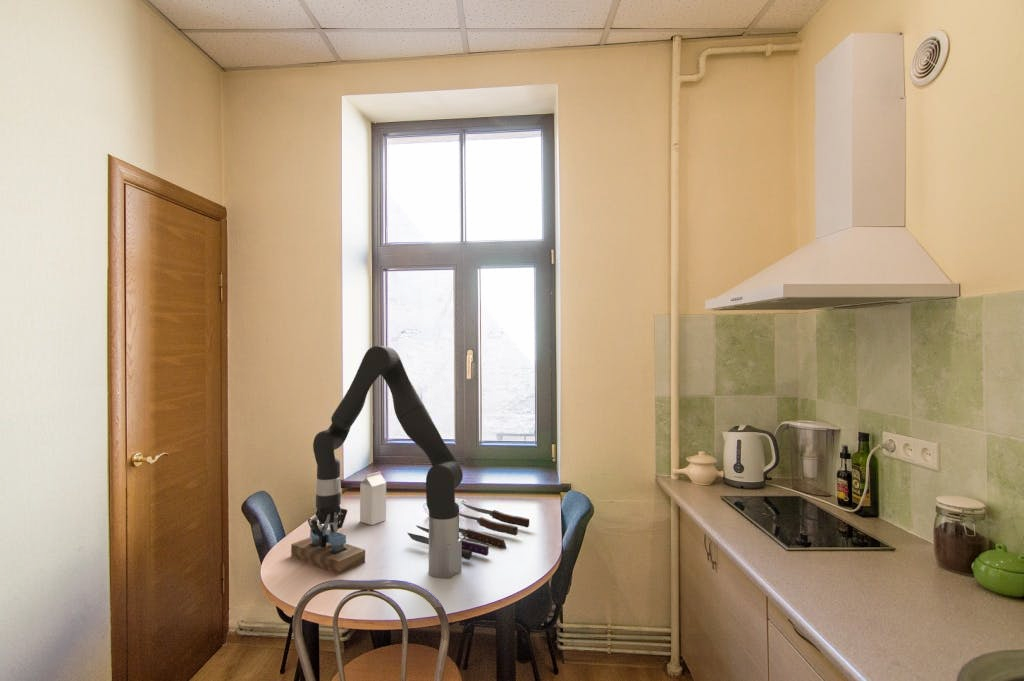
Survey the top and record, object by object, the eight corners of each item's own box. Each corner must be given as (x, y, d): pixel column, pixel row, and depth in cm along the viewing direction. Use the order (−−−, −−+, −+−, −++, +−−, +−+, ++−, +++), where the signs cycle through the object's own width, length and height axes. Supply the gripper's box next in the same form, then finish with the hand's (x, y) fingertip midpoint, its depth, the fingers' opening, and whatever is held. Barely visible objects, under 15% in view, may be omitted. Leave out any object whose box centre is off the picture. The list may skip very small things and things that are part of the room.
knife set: (460, 512, 198) (461, 494, 197) (531, 532, 181) (531, 512, 180) (399, 544, 168) (400, 522, 167) (477, 571, 151) (477, 546, 150)
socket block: (365, 562, 153) (365, 549, 153) (338, 574, 145) (338, 561, 145) (317, 546, 166) (318, 534, 166) (291, 556, 158) (291, 544, 158)
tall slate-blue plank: (345, 558, 153) (345, 535, 153) (337, 562, 151) (337, 538, 151) (318, 549, 161) (318, 526, 161) (310, 552, 158) (310, 529, 158)
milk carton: (386, 520, 192) (386, 472, 192) (371, 525, 186) (372, 476, 186) (374, 517, 196) (374, 469, 196) (359, 522, 190) (360, 473, 190)
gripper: (316, 498, 148) (315, 555, 148) (353, 488, 160) (353, 540, 160) (301, 494, 152) (301, 550, 152) (339, 484, 164) (338, 535, 164)
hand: (327, 544), depth 156 cm, fingers closed on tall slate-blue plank, 3 cm apart
